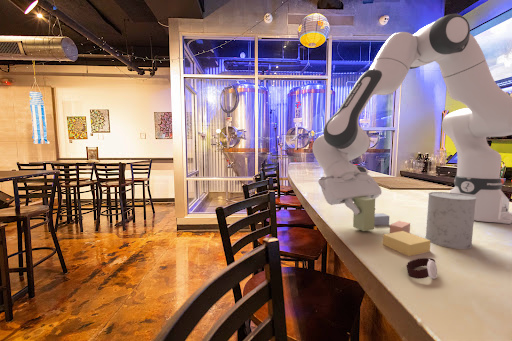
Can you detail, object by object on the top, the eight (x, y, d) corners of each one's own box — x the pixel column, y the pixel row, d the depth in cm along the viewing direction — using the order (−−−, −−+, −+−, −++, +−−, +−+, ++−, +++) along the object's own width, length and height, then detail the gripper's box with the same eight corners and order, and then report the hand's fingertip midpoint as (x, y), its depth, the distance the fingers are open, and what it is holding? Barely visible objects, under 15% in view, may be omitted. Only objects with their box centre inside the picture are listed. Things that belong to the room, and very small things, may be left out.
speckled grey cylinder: (482, 250, 57) (486, 200, 55) (437, 247, 59) (440, 198, 57) (456, 236, 66) (460, 192, 65) (418, 233, 68) (421, 191, 67)
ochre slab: (402, 241, 63) (403, 230, 63) (429, 252, 56) (430, 240, 56) (382, 245, 60) (383, 234, 60) (409, 257, 54) (410, 244, 54)
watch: (428, 286, 42) (429, 267, 42) (399, 275, 46) (400, 257, 46) (442, 273, 47) (443, 255, 47) (415, 263, 51) (416, 247, 50)
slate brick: (382, 222, 79) (383, 213, 79) (388, 225, 76) (389, 215, 76) (366, 223, 78) (366, 214, 78) (372, 226, 75) (372, 216, 75)
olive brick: (362, 225, 73) (363, 196, 72) (374, 229, 69) (375, 198, 68) (353, 226, 71) (354, 197, 70) (364, 231, 67) (365, 200, 67)
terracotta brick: (398, 230, 71) (398, 220, 71) (409, 233, 69) (410, 223, 68) (389, 235, 67) (390, 224, 67) (401, 238, 65) (401, 227, 65)
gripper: (321, 171, 70) (344, 211, 63) (370, 167, 79) (396, 202, 71) (311, 183, 75) (332, 222, 67) (358, 179, 83) (382, 213, 75)
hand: (365, 212), depth 69 cm, fingers closed on olive brick, 4 cm apart
